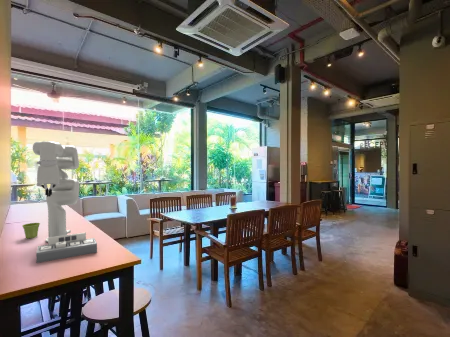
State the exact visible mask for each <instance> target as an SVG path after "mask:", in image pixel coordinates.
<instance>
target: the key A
mask: <svg viewBox="0 0 450 337" xmlns="http://www.w3.org/2000/svg"><path fill="white" fill-rule="evenodd" d="M47 249H52V246H46V247H41V249H40V251H41V250H47Z"/></svg>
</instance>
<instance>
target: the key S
mask: <svg viewBox="0 0 450 337" xmlns="http://www.w3.org/2000/svg"><path fill="white" fill-rule="evenodd" d="M60 247H66V241H64V242H57V243H56V248H60Z"/></svg>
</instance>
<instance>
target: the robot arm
mask: <svg viewBox="0 0 450 337" xmlns="http://www.w3.org/2000/svg"><path fill="white" fill-rule="evenodd" d="M32 151H33V153H34V154H35V155H36V156H39V161H36V164H37V165H38V166H37V172H36V186H37V187H41V188H42V189H44V190H45V192H44V194H45V196H46V197H45V200H46V204H47V212H48V213H47V214H48V215H47V217H48V218H47V223H48V225H47V226H48V232H47V234H48V235H47V236H48V237H55V236H63V235H69V234H70V233H71V230H70V229H68V230H67V212H66V209H65V208H64V207H63V206H72V205H76V204H77V203H78V202H79V197H80V196H79V195H80V182H79V180H78V179H76V178H69V174H67V173H66V172H65V171H64V170H76V169H78V168H79V165H80V159H79V153H78V148H77V147H76V146H74V145H63V144H61V143H60V142H56V141H49V140H47V141H45V140H43V141H35V142H34V143H33V144H32ZM48 185H49V187H48ZM48 237H46V238H45V242H46V243H48Z"/></svg>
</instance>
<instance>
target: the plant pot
mask: <svg viewBox="0 0 450 337" xmlns="http://www.w3.org/2000/svg"><path fill="white" fill-rule="evenodd" d="M40 225H41V223H40V222H31V223H25V224H22V228H23V230H24V231H23V232H24V237H25V239H27V240H28V239H34V238H37V237H38V232H39V227H40Z"/></svg>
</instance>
